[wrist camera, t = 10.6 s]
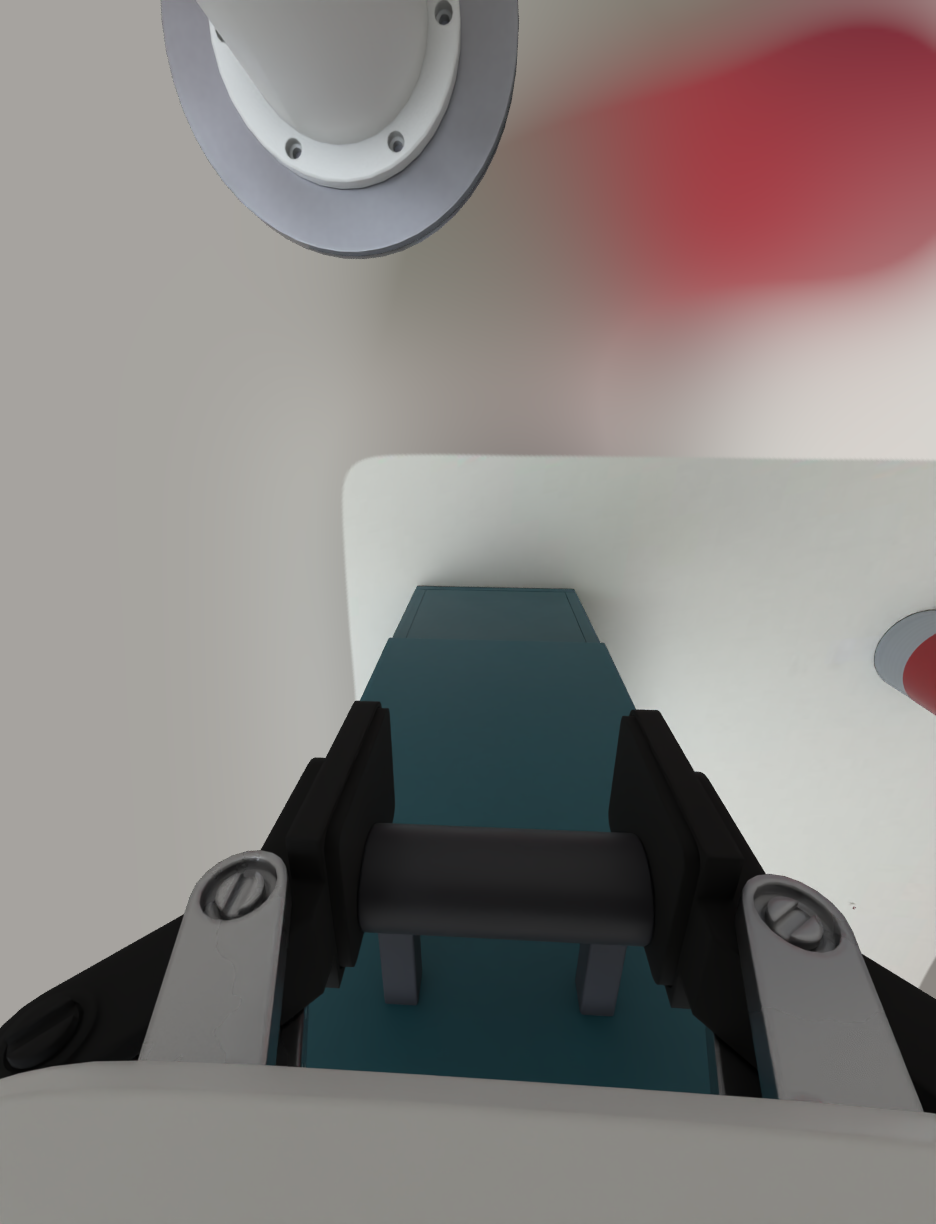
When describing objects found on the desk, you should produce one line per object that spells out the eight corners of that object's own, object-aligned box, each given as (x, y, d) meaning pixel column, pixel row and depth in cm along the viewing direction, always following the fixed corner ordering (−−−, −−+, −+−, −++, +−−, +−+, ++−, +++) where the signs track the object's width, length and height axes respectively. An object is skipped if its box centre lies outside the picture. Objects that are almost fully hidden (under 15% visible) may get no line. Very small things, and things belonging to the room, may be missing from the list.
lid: (839, 1183, 8) (951, 1001, 6) (176, 1136, 9) (96, 955, 7) (603, 655, 26) (613, 566, 24) (389, 650, 27) (383, 562, 25)
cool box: (556, 791, 42) (573, 893, 33) (424, 786, 43) (405, 885, 34) (574, 588, 36) (602, 645, 26) (416, 585, 36) (390, 640, 27)
